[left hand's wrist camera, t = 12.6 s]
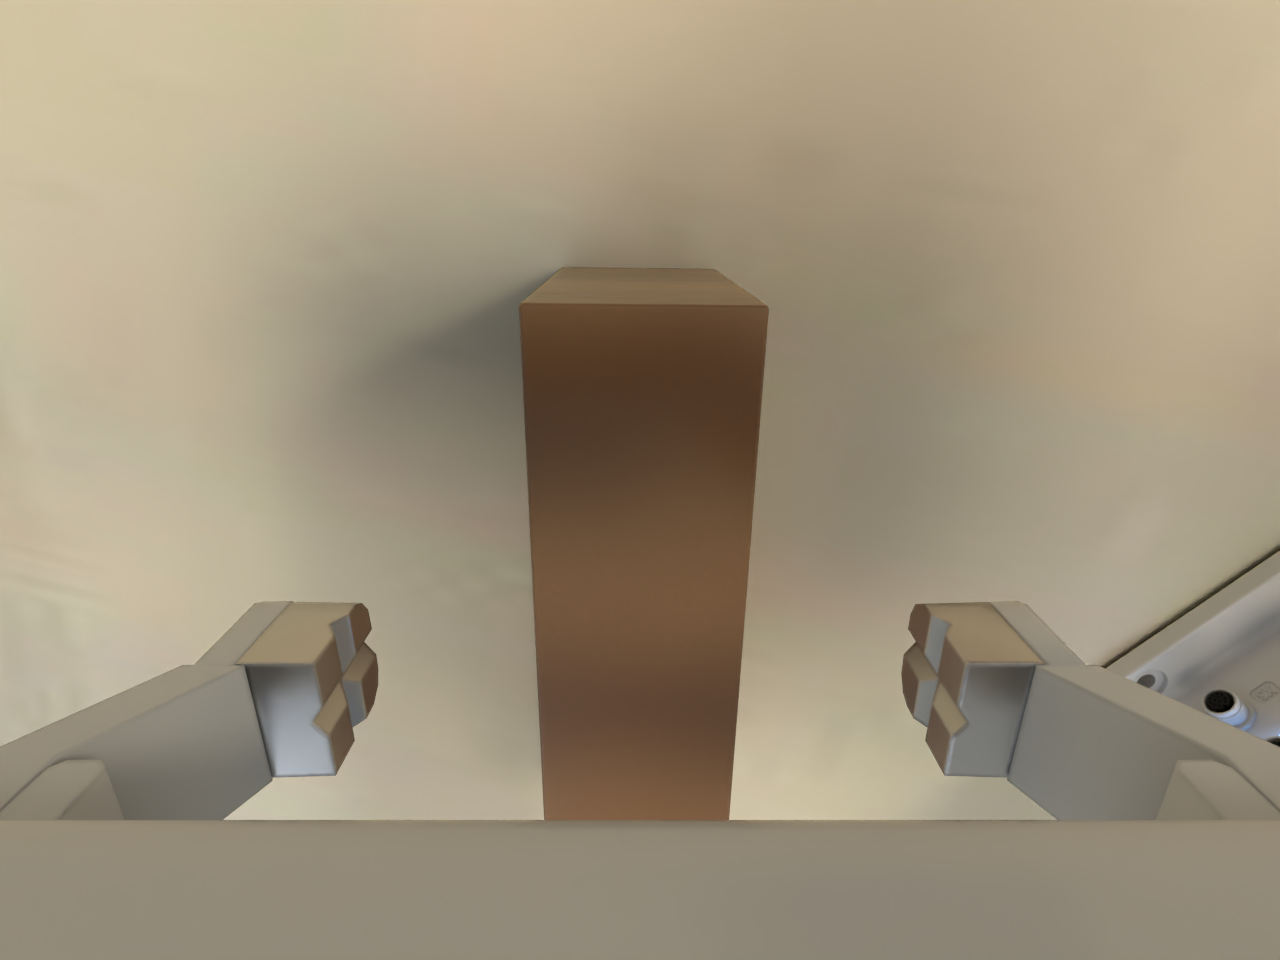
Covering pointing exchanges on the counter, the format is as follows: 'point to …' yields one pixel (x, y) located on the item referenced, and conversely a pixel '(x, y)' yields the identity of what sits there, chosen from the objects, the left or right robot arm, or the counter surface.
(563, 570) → the box
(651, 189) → the counter surface
